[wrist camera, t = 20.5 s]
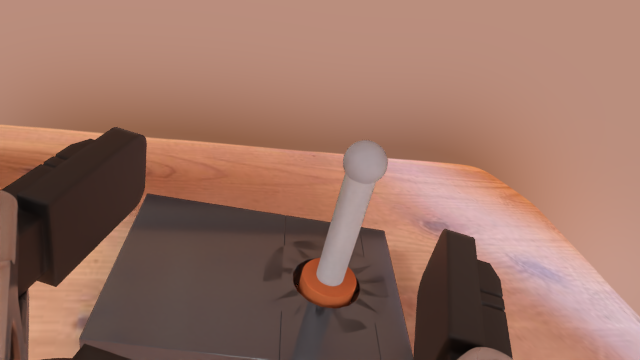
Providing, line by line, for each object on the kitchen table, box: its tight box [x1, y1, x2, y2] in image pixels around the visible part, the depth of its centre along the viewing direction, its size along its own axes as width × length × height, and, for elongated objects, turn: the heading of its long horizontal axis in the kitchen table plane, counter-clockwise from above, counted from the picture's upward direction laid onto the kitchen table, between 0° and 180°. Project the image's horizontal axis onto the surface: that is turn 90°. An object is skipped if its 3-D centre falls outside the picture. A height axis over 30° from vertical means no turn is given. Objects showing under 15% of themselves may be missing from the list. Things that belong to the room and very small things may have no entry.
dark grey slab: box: [79, 194, 413, 360], centre depth 39 cm, size 22×16×2 cm
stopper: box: [297, 140, 388, 308], centre depth 37 cm, size 4×4×15 cm
